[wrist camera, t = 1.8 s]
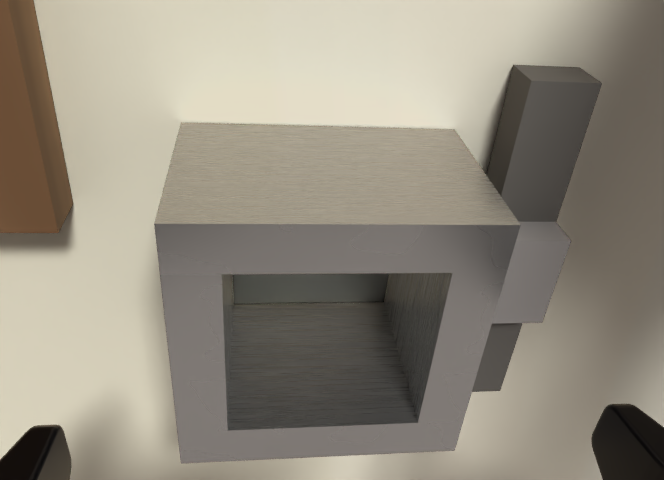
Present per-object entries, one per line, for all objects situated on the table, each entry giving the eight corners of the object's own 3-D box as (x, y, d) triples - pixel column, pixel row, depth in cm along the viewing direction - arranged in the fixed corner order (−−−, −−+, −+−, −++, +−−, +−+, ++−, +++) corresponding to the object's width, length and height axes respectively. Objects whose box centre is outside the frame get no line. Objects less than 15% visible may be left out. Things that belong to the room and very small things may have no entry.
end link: (454, 129, 13) (520, 224, 10) (415, 329, 17) (454, 450, 13) (181, 122, 12) (154, 223, 9) (196, 333, 16) (180, 463, 13)
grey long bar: (579, 67, 13) (622, 97, 11) (488, 365, 18) (509, 413, 16) (513, 65, 13) (548, 94, 11) (440, 366, 18) (457, 415, 16)
